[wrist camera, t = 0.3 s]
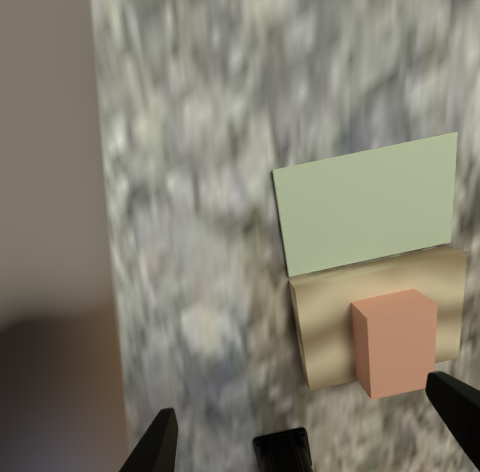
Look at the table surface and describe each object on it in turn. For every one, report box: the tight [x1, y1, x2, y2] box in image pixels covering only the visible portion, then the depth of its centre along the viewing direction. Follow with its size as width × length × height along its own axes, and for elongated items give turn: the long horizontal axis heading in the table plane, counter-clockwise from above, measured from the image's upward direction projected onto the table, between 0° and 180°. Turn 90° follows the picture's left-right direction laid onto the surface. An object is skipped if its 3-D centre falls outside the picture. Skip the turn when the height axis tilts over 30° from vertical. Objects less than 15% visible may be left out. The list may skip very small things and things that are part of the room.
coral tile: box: [351, 288, 438, 400], centre depth 21 cm, size 9×6×2 cm, turn 11°
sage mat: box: [272, 132, 458, 277], centre depth 21 cm, size 10×16×1 cm, turn 101°
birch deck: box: [289, 246, 467, 391], centre depth 23 cm, size 12×16×2 cm
